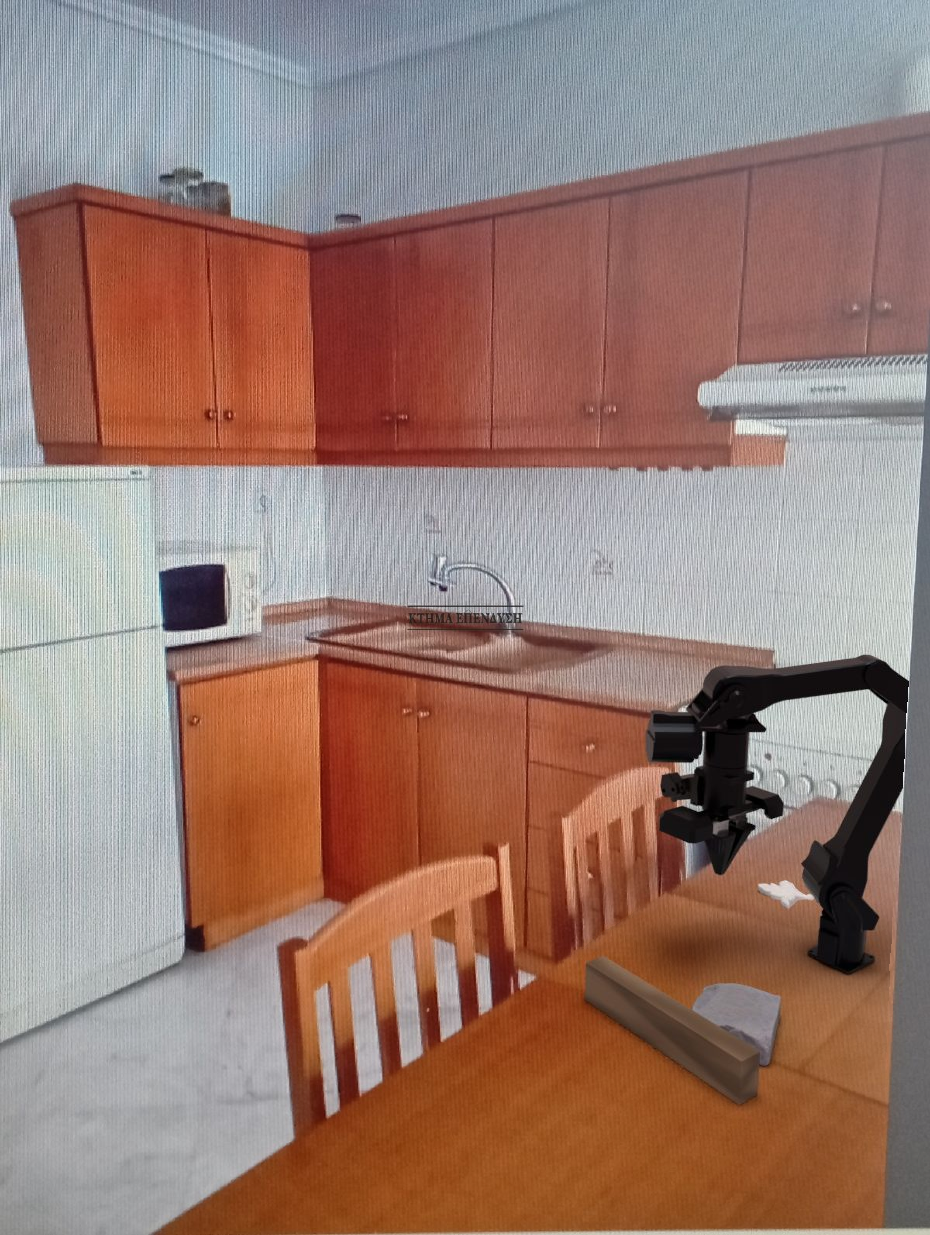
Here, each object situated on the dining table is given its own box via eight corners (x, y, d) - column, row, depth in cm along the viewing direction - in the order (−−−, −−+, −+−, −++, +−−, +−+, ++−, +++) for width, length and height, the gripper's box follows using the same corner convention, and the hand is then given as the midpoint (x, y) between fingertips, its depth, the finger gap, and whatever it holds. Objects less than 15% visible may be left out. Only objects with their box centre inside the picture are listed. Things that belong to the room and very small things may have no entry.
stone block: (686, 1065, 109) (776, 1071, 104) (680, 1025, 108) (770, 1029, 104) (704, 1015, 119) (786, 1018, 115) (698, 978, 119) (780, 980, 115)
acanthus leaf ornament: (788, 913, 143) (789, 901, 143) (752, 896, 149) (752, 885, 149) (819, 900, 147) (820, 889, 147) (782, 884, 153) (783, 873, 153)
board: (602, 992, 120) (603, 955, 119) (757, 1094, 101) (760, 1051, 100) (584, 999, 118) (585, 962, 118) (739, 1105, 99) (741, 1061, 98)
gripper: (723, 737, 137) (718, 839, 139) (631, 758, 126) (627, 869, 129) (789, 756, 128) (782, 865, 130) (695, 781, 117) (689, 899, 119)
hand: (719, 873), depth 127 cm, fingers closed
